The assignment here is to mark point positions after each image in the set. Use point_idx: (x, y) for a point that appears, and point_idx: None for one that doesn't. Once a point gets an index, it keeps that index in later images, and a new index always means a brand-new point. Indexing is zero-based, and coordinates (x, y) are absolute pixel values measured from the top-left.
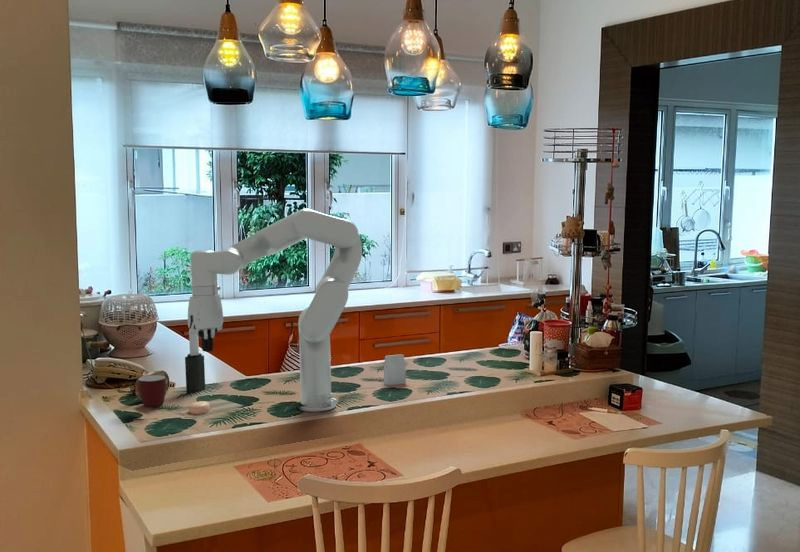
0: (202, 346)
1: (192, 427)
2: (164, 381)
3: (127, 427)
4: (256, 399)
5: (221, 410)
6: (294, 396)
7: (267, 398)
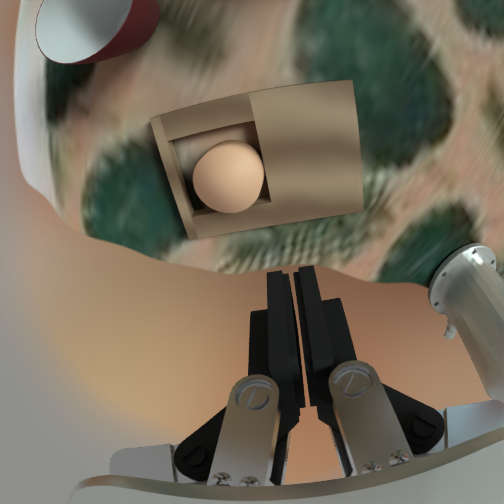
0: (253, 328)
1: (179, 254)
2: (121, 38)
3: (50, 167)
4: (443, 130)
5: (287, 212)
6: (499, 182)
7: (463, 145)
